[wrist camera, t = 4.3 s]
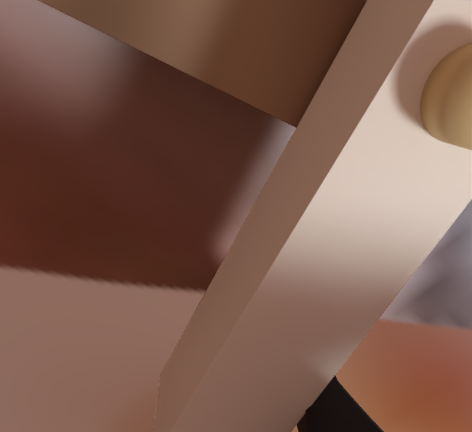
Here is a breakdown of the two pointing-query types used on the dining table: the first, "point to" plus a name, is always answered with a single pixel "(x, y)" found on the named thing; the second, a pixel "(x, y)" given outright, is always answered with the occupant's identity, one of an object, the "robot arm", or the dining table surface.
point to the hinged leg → (333, 224)
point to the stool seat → (233, 42)
